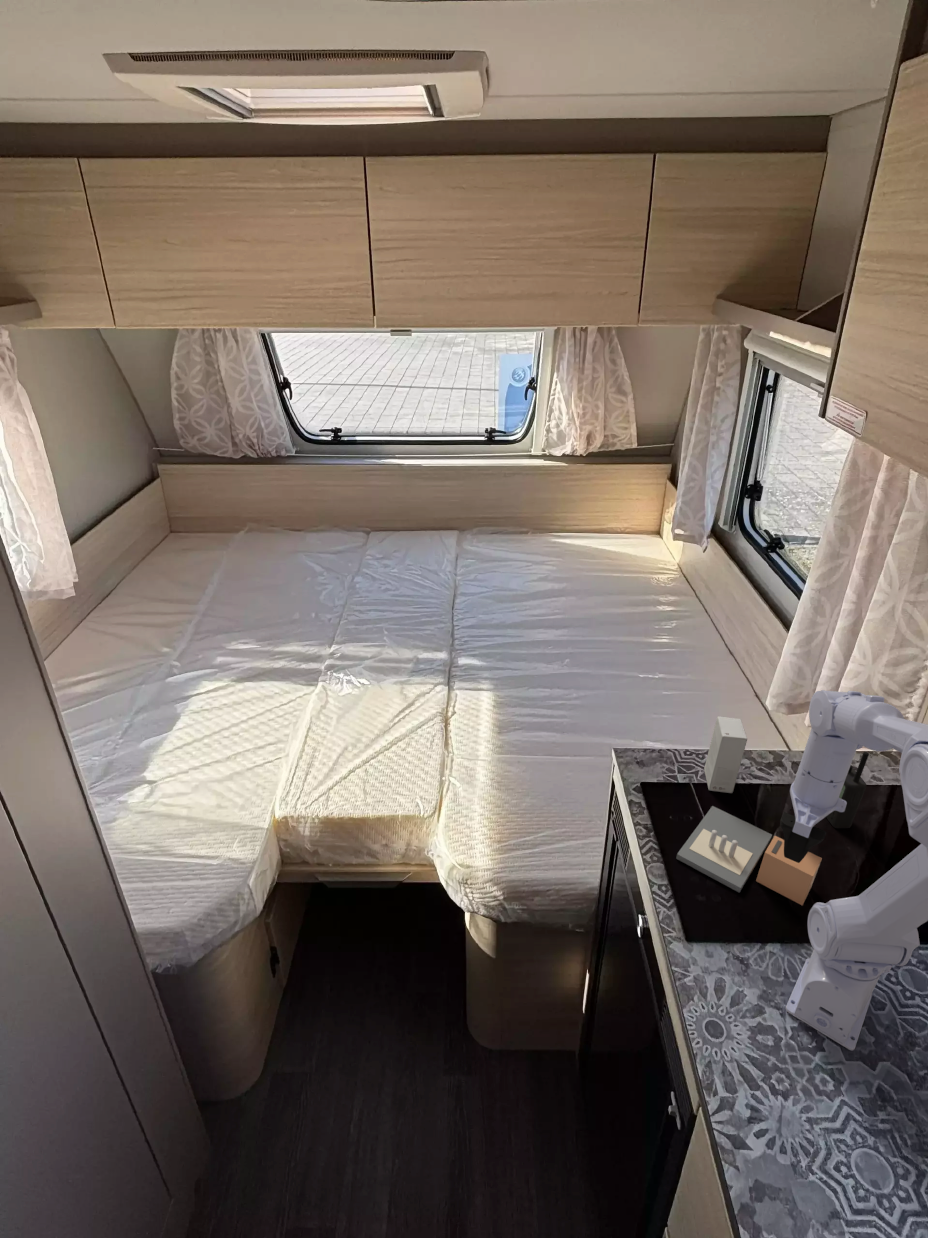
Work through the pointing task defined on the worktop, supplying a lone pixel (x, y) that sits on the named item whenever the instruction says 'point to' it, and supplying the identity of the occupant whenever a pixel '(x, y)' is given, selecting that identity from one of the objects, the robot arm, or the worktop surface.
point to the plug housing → (787, 872)
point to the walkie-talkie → (850, 796)
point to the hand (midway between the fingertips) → (797, 841)
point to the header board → (724, 848)
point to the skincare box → (725, 754)
